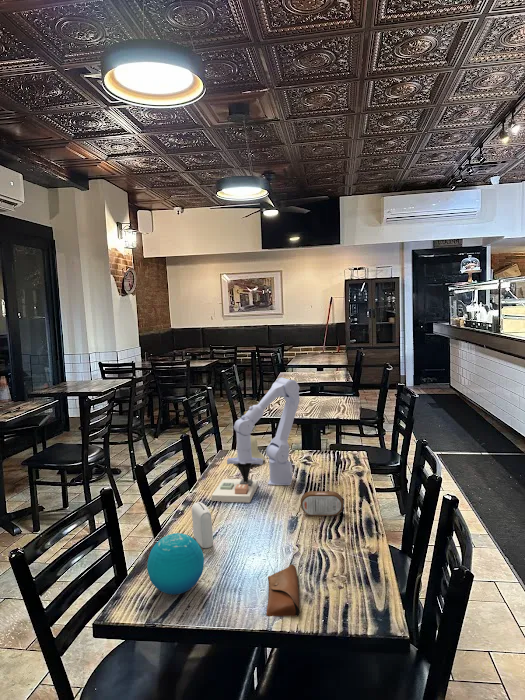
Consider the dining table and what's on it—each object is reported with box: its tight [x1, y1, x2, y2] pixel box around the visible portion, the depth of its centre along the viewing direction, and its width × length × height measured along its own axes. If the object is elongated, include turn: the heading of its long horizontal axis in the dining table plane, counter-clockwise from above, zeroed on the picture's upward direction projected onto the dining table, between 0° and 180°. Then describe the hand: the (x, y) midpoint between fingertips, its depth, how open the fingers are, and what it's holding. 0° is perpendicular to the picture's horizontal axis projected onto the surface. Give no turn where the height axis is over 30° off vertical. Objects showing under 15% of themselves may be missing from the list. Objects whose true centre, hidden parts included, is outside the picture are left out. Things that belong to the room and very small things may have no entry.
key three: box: [220, 483, 234, 490], centre depth 192 cm, size 4×4×3 cm
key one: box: [240, 478, 253, 486], centre depth 195 cm, size 4×4×3 cm
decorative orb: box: [146, 532, 205, 595], centre depth 127 cm, size 15×15×15 cm
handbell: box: [232, 410, 265, 461], centre depth 227 cm, size 15×15×25 cm
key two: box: [235, 484, 249, 494], centre depth 187 cm, size 4×4×3 cm
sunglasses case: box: [265, 564, 301, 617], centre depth 124 cm, size 18×7×7 cm
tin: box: [300, 490, 344, 517], centre depth 168 cm, size 15×3×8 cm, turn 84°
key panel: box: [211, 478, 259, 503], centre depth 192 cm, size 15×17×2 cm
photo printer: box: [191, 501, 214, 549], centre depth 153 cm, size 10×4×12 cm, turn 26°
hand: (245, 481), depth 195 cm, fingers closed, pressing on key one
